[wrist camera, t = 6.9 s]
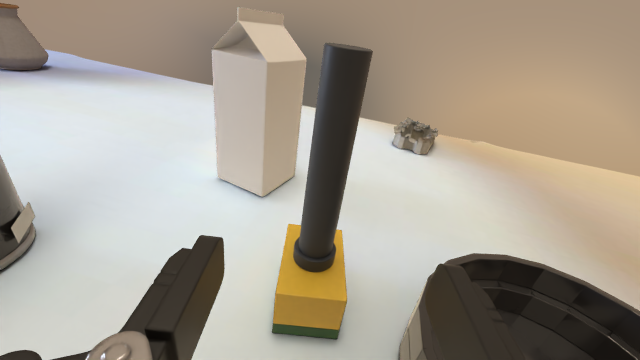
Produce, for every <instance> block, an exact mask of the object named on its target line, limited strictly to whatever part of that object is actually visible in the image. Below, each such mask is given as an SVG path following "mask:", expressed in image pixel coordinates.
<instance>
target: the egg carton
mask: <svg viewBox="0 0 640 360" xmlns="http://www.w3.org/2000/svg"><path fill="white" fill-rule="evenodd" d="M394 131H395V136H394V139H393V144H394V145H395V146H397V148H400V149H402V148H406V149H410V150H412V151H414V153H416V154H427V153H428V151H429V149H430V147H431V145H432V144H433V142H434V139H435V137H437V136H438V133H437V132H438V130H437V129H434V130H433V129H431V128H430V126H429V125H425V124H423V123H419V122H418V121H417V122H415V121H413V120H411V119H410V118H407V119H406V120H405V121H404V122H401V123H400V124H399V125H398V126H395V127H394Z"/></svg>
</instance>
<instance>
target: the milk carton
mask: <svg viewBox="0 0 640 360" xmlns="http://www.w3.org/2000/svg"><path fill="white" fill-rule="evenodd" d="M237 13H238V14H237V21H236V23H235V24H234V25H233V26H232V27H231V28H230V29H229V30H228V31H227V32H226V34H225V35H224V36H223V37H222V38H221V39H220V40H219V41H218V42H217V44H216V45H215V46H214V47H213V48H212V63H213V64H212V65H213V88H214V109H215V131H216V152H217V173H218V177H219V178H221V179H223V180H225V181H227V182H230V183H232V184H234V185H237V186H239V187H241V188H243V189H246V190H248V191H250V192H253V193H255V194H257V195H259V196H262V197H263V196H265V195H266V194H268V193H269V192H271V191H272V190H274V189H275V188H277V187H278V186H280V185H281V184H283V183H284V182H286V181H287V180H289V179H290V178H292V177H293V176H294V175H295V167H296V158H297V148H298V138H299V128H300V118H301V108H302V98H303V89H304V79H305V69H306V60H307V59H306V58H305V56H304V55H303V54H302V52H301V50H300V49H299V47H298V46H297V45H296V43H295V42H294V41H293V39H292V37H291V36H290V35H289V33H288V32H287V30H286V29H285V27H284V26H283V21H284V14H278V13H272V12H266V11H260V10H253V9H247V8H241V7H238V8H237Z"/></svg>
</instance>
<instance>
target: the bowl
mask: <svg viewBox="0 0 640 360" xmlns="http://www.w3.org/2000/svg"><path fill="white" fill-rule="evenodd" d="M444 264H447V265H455V266H461V267H463V268H464V270H465V271H466V273H467V275H468V277H469V278H470V280H471V282H476V283H477V284H478V285H479V286H480V287H481V288H482V289H483V290H484V291H485V292H486V293H487V294H488V295H489V297H490V299H491V300H492V302H493V304H494V305H495V307H496V311H498V312H499V314H500V316H501V317H502V319H503V323H505V324H506V326H507V327H508V329H509V331H510V332H511V334H512V336H513V338H514V339H515V341H516V343H517V344H518V346H519V348H520V349H521V351H522V353H523V355H524V356H525V358H526V360H640V311H639V310H637V309H635V308H634V307H632V306H630V305H628V304H627V303H625V302H623V301H621V300H619V299H617V298H615V297H614V296H612V295H610V294H608V293H606V292H604V291H603V290H601V289H599V288H597V287H595V286H593V285H591V284H590V283H588V282H585V281H584V280H581V279H579V278H576V277H574V276H571V275H569V274H566V273H564V272H561V271H559V270H556V269H554V268H551V267H549V266H546V265H544V264H541V263H537V262H533V261H529V260H525V259H520V258H516V257H512V256H508V255H499V254H475V253H474V254H470V255H466V256H462V257H458V258H455V259H451V260H448V261H447V262H445V263H444ZM433 275H434V273H433V274H431V275H430V276H429V277H428V279H427V281H426V284H425V286H424V288H423V290H422V292H421V295H420V297H419V299H418V301H417V304H416V306H415V308H414V310H413V312H412V315H411V317H410V319H409V322H408V325H407V328H406V331H405V333H404V336H403V339H402V342H401V344H400V360H444V359H443V356H442V353H441V351H440V348H439V345H438V342H437V339H436V336H435V333H434V330H433V327H432V324H431V322H430V319H429V316H428V313H427V310H426V306H425V293H426V290H427V288H428V285H429V283H430V281H431V279H432V277H433Z"/></svg>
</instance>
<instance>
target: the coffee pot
mask: <svg viewBox="0 0 640 360" xmlns="http://www.w3.org/2000/svg"><path fill="white" fill-rule="evenodd" d="M17 8H19V7H18V6H17V5H11V4H2V3H0V69H7V70H33V69H39V68H42V65H43V64H45V63H46V62H47V60H48V53H47V52H46V51H45V50H44V48H42V46H41V45H40V43H39V42H38V41H37V40H36V39H35V37H34V36H33V35H32V34H31V32H30V31H29V30H28V29H27V27H26V26H25V25H24V24H23V23H22V21H21V20H20V19H19V17H18V16H17Z"/></svg>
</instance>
